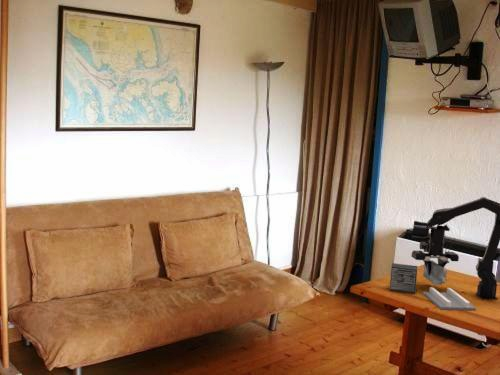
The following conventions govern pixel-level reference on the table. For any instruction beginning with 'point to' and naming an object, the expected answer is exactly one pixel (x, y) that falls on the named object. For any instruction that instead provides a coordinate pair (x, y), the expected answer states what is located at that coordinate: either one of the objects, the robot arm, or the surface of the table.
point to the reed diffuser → (444, 267)
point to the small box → (403, 278)
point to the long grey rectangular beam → (434, 273)
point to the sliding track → (448, 300)
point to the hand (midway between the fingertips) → (432, 275)
